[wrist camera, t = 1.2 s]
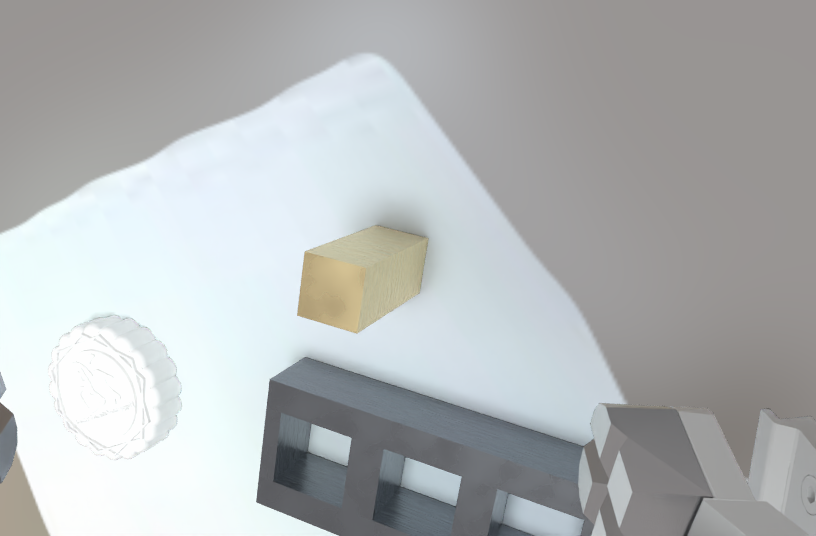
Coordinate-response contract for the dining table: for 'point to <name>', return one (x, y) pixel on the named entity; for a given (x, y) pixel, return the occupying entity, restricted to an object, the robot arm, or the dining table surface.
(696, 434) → the robot arm
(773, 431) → the hinge
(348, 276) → the brass peg
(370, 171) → the dining table surface
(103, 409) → the mooncake
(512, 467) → the grey rectangular block
